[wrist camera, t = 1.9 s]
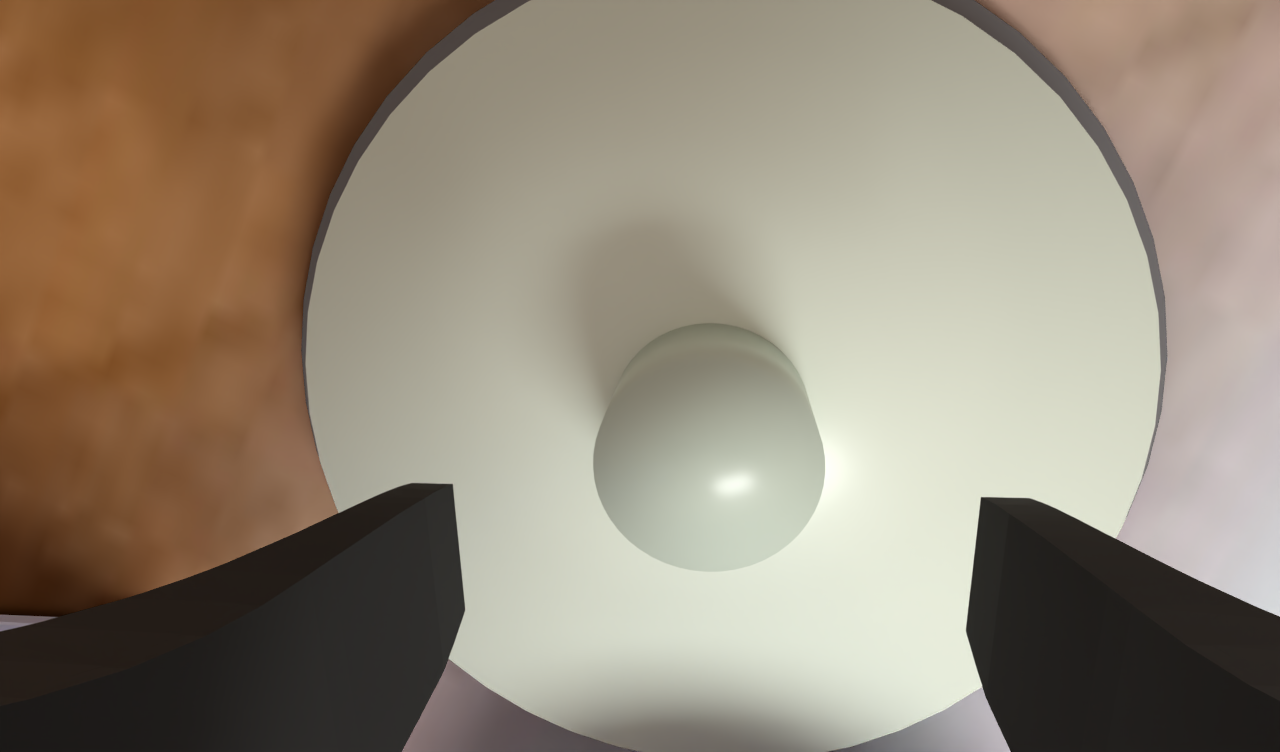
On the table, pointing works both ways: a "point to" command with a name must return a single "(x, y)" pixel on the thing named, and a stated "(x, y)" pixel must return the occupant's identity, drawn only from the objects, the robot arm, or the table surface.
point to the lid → (731, 353)
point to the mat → (960, 3)
